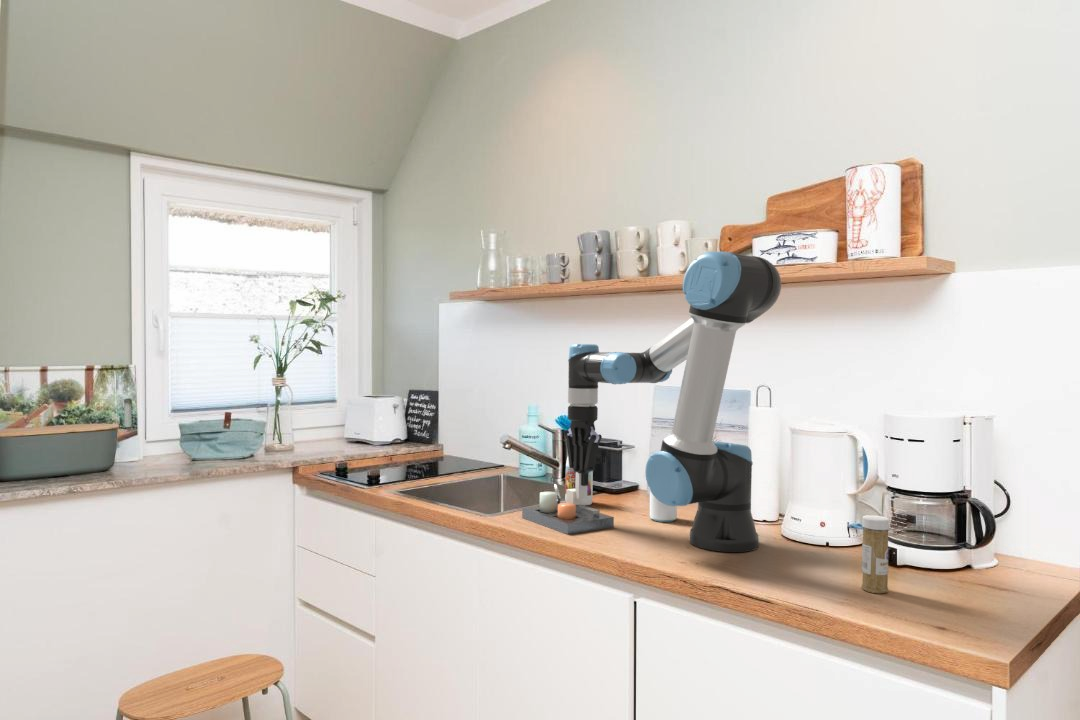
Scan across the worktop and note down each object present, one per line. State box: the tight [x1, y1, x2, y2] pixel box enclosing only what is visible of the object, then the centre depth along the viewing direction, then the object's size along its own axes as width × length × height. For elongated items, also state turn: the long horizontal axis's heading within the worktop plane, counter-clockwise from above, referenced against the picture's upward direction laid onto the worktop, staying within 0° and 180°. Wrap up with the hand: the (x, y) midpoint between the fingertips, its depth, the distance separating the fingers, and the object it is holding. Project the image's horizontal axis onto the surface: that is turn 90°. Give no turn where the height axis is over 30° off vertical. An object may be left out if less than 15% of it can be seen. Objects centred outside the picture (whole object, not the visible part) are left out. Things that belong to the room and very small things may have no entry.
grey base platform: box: [521, 483, 615, 535], centre depth 183 cm, size 21×14×8 cm
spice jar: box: [861, 514, 891, 594], centre depth 133 cm, size 5×5×13 cm
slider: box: [566, 489, 586, 505], centre depth 186 cm, size 3×4×4 cm
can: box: [648, 489, 678, 523], centre depth 188 cm, size 7×7×12 cm
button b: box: [539, 491, 557, 513], centre depth 185 cm, size 4×4×4 cm
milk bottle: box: [564, 456, 594, 506], centre depth 206 cm, size 8×8×20 cm
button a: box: [558, 503, 576, 520], centre depth 178 cm, size 4×4×4 cm
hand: (581, 497), depth 184 cm, fingers closed
